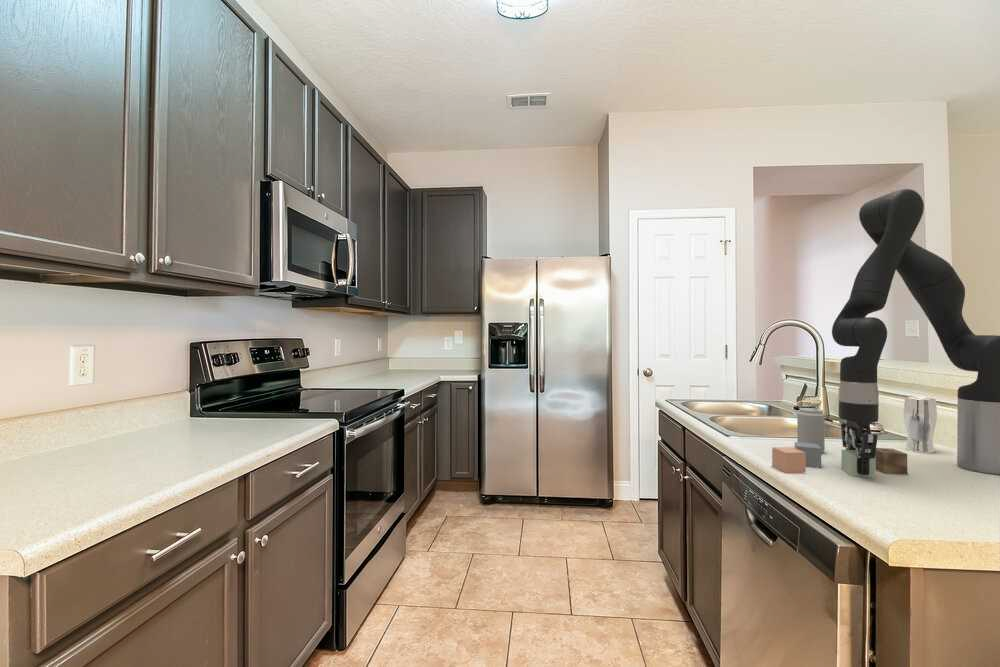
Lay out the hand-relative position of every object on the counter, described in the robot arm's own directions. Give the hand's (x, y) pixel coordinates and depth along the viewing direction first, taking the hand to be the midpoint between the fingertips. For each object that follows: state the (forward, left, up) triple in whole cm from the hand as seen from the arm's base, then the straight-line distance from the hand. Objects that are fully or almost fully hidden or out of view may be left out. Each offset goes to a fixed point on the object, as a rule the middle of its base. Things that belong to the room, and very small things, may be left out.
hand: (857, 470), depth 108 cm
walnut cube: (-8, -5, -1) cm, 9 cm away
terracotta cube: (+15, +2, -1) cm, 15 cm away
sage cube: (0, 0, -1) cm, 1 cm away
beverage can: (+4, -20, -1) cm, 20 cm away
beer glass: (-26, -31, -1) cm, 40 cm away
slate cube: (+9, -5, -1) cm, 10 cm away
